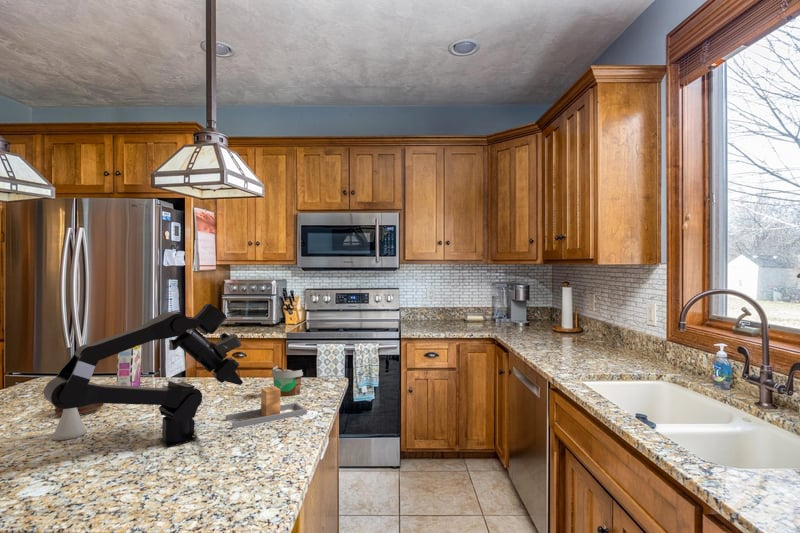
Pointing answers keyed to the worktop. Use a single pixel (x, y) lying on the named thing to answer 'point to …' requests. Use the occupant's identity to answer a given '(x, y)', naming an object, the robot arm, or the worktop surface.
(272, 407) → the orange block
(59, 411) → the cup and saucer
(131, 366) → the candy bar box
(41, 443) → the worktop surface
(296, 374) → the food container
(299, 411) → the channel board
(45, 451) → the worktop surface
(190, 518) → the worktop surface
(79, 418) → the flask
